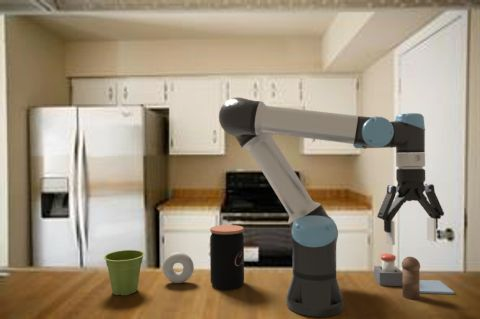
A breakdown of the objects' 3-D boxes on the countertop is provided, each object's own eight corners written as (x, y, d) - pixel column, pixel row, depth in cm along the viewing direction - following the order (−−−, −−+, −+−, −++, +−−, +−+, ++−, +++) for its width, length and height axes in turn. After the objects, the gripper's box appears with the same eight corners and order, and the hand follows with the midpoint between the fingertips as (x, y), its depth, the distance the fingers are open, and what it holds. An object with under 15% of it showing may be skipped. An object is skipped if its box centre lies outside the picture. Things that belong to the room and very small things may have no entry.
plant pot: (95, 295, 109) (94, 257, 109) (125, 282, 119) (124, 248, 119) (124, 302, 103) (124, 262, 103) (153, 288, 114) (152, 252, 113)
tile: (418, 293, 108) (418, 290, 108) (406, 281, 118) (406, 279, 118) (454, 294, 107) (454, 292, 107) (439, 282, 117) (439, 280, 117)
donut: (161, 285, 116) (161, 253, 116) (163, 281, 120) (163, 251, 120) (193, 284, 117) (193, 253, 117) (194, 280, 120) (194, 250, 120)
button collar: (379, 285, 114) (379, 272, 114) (374, 278, 121) (374, 265, 121) (403, 286, 114) (403, 273, 114) (396, 278, 121) (396, 266, 121)
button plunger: (382, 280, 116) (382, 257, 116) (379, 276, 120) (379, 253, 120) (397, 281, 115) (397, 257, 115) (393, 276, 119) (393, 254, 119)
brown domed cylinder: (405, 299, 103) (404, 259, 103) (399, 293, 108) (399, 254, 108) (423, 300, 103) (422, 259, 103) (416, 293, 107) (416, 254, 107)
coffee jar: (240, 291, 110) (240, 232, 110) (206, 289, 112) (205, 230, 112) (247, 280, 121) (246, 225, 121) (215, 278, 123) (215, 224, 123)
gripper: (379, 169, 98) (380, 248, 99) (457, 167, 104) (458, 242, 104) (364, 168, 106) (365, 242, 106) (437, 166, 112) (438, 236, 112)
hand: (411, 242), depth 105 cm, fingers open, 13 cm apart
